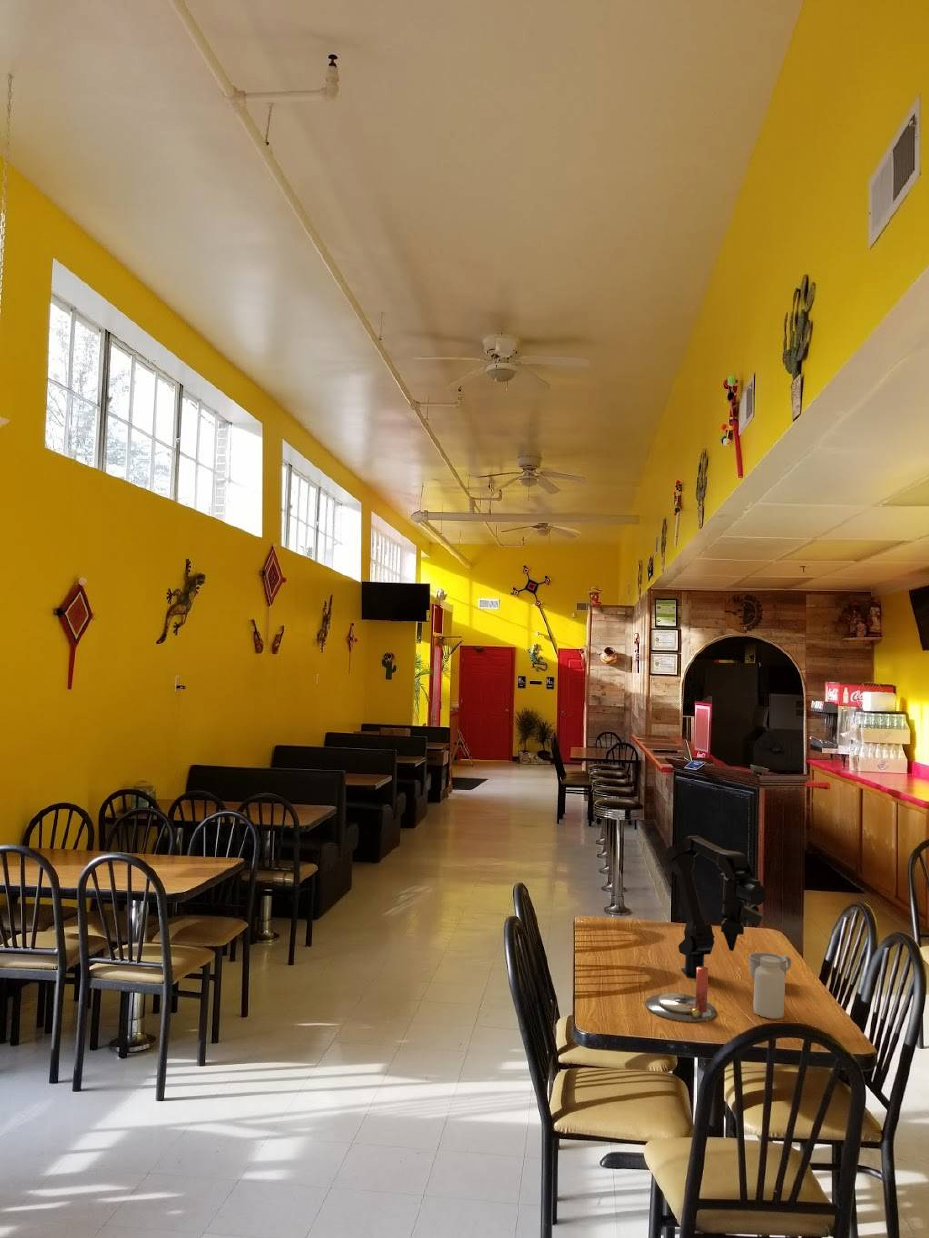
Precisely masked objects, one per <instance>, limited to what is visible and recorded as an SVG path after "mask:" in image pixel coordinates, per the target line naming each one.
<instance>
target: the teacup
mask: <svg viewBox="0 0 929 1238" xmlns="http://www.w3.org/2000/svg"><path fill="white" fill-rule="evenodd" d="M762 956H772V957H776V958H778V959H780V961H781V962H780V969H781V970H782V971H783V972H784V974H785V979H786V977H787V972H788V971H789V969H790V968H791V966H792V959H791V958H790V956H788V955H779V954H776V953H770V952H753V953H750V954H748V959H749V974H750V976H751V978H752V979H753V981H755V970H756V968H757V967H758V966H761V965H760V958H761V957H762Z"/></svg>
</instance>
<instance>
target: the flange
mask: <svg viewBox="0 0 929 1238" xmlns="http://www.w3.org/2000/svg"><path fill="white" fill-rule="evenodd" d="M695 978H696V980H695V996H693V995H690V994H685V993H679V992H671V993H669V992H668V993H667V992H666V993H663V994H662V995H660V996H659V1001H658V1003H659V1005H660V1006H661V1007H662V1008H664V1009H666V1010H669V1011H672V1012H676V1013H682V1014H692V1009H693V1008H697V1009H699V1012H698V1016H699V1017H701V1018H704V1017H707V1016H711V1010H708V1009H707V1002H708V987H709V985H708V984H709V983H708V982H709V980H708V979H709V968H708V966H707V967H706V966H705V965H704V966H698V967H697V972H696V977H695Z"/></svg>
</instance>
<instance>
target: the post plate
mask: <svg viewBox="0 0 929 1238" xmlns="http://www.w3.org/2000/svg"><path fill="white" fill-rule="evenodd" d="M660 995H662V994H660V993H659V994H655V995H651V996H650V997H648V998H646V1000H645V1008H646V1009H647V1010H648V1011H649V1012H650V1013H652V1014H653V1015H655V1014H656V1015H655V1016H658V1017H660V1016H661V1018H663V1019H666V1018H667V1019H666V1020H670V1019H672V1020H671V1021H674V1020H679V1021H678V1022H680V1021H686V1022H685V1023H701V1022H700V1021H705V1022H707V1021H706V1020H709V1021H711V1020H714V1017H715V1018H716V1016H717V1009H716V1008H715V1007H714V1005H712V1004H711V1003H709V1002H708V1001H707V1009H708V1010H711V1016H707V1017H704V1018H701V1017H699V1016H698V1012H699V1009H697V1008H693V1009H692V1014H682V1013H676V1012H672V1011H669V1010H666V1009H664V1008H662V1007H661V1006H660V1005H659V1003H658V1001H659V996H660ZM710 1019H711V1020H710ZM689 1021H690V1022H689Z"/></svg>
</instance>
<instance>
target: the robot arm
mask: <svg viewBox="0 0 929 1238" xmlns="http://www.w3.org/2000/svg"><path fill="white" fill-rule="evenodd" d="M697 855H700V856H703V857H704V858H707V859H709V860H710V861H711V862H712V861H713V862H714V863H715V864H716V866H717V868H718V869H720V870H721V871H722V872H721V873H720V874H718V878H719V879H722V880H723V888H722V889H723V890H722V891H723V892H722V893H723V894H722V911H721V919H723V920H722V921H721V922H720V925H721V926H720V932H721V933H723V935H724V938H725V941H726V944H727V947H728V950H729V951H731V952H734V950H735V946H736V942H737V937H738V935H741V936H742V935H745V931H744V929H745V925H744V923H743V922H745V921H747V922H749V923H750V924H751V923H752V924H753V925H755V926H756V927H760V926H761V924H762V921H763V919H764V913H763V912H762V911H760V907H759V906H760V905H762V904H763V903H764V902H765V900H766V898H767V897H766V896H767V892H766V889H765V888H764V886H763V885H761V880H760V879H756V876H755V874H754V871H753V869H752V866H751V865H750V862H749V861H748V858H747V857H748V856H747V855H746V854H744V853H743V852H739V851H734V850H727V849H724V848H722V847H720V846H718V845H716V844H714V843H712V842H710V841H708V840H706V839H704V838H703V837H701V836H700V835H688V836H686V837H685V838H683V839H682V840H680V841H678V842H677V843H674V844H672V845H670V846H668V847H667V849H666V851H665V858H666V861H667V864H668V866H669V869H670V870H671V871H672V872H673V873H674V874H675V876H676V880H677V885H678V891H679V894H680V896H681V897H680V898H681V902H682V907H683V910H684V916H685V920H686V924H685V927H684V931H683V934H684V939H683V940H682V941H681V942H680V943H679V944H678V951H679V953H680V954H682V955H684V968H683V967H681V968H680V971H681V972H682V973H683V974H684V975H685V976H686V977H688V978H696V972H697V967H698V966H704V967H705V955H706V956H707V955H711V954H712V951H713V948H714V945H715V935H714V932H713V927H712V924H711V923H707V922H705V920H704V918H703V915H702V910H701V906H700V901H699V897H698V893H697V889H696V888H697V887H696V883H695V879H694V875H693V869H694V868H695V857H697ZM745 903H749V904H751V906H747V905H745Z"/></svg>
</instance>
